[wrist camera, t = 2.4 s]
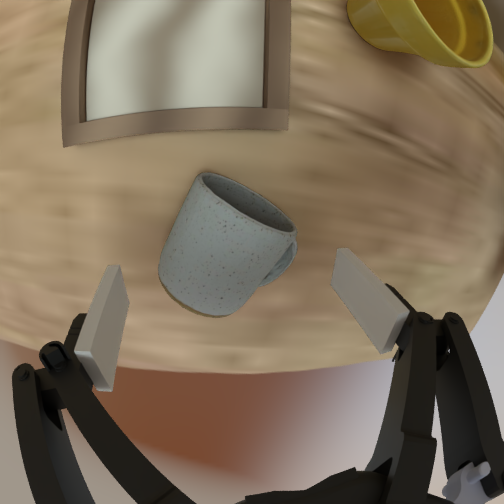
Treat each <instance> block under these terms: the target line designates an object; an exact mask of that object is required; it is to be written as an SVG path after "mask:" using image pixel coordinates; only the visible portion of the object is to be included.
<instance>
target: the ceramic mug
mask: <svg viewBox="0 0 504 504" xmlns="http://www.w3.org/2000/svg"><path fill="white" fill-rule="evenodd" d="M296 236H297V228H296V226H295V224H294V223H293V222H292V221H291V220H290V219H289V218H288V217H287V216H286V215H285V214H284V213H283V212H282V211H281V210H280V209H278V208H277V207H276V206H275V205H273V204H272V203H271V202H269V201H268V200H266V199H265V198H264V197H262V196H261V195H259V194H257V193H255V192H254V191H252V190H250V189H249V188H247V187H245V186H244V185H242V184H239V183H237V182H235V181H234V180H231V179H229V178H227V177H223V176H221V175H218V174H214V173H210V172H208V173H201V174H199V175H198V176H197V177H196V179H195V181H194V183H193V185H192V187H191V189H190V191H189V193H188V195H187V197H186V199H185V201H184V203H183V205H182V207H181V210H180V212H179V214H178V216H177V218H176V221H175V223H174V225H173V228H172V230H171V232H170V234H169V236H168V239H167V241H166V243H165V245H164V247H163V250H162V252H161V257H160V261H159V266H158V275H159V279H160V282H161V284H162V286H163V288H164V289H165V291H166V292H167V294H168V295H169V296H170V297H171V298H172V299H173V300H174V301H176V302H177V303H178V304H179V305H180V306H182V307H183V308H185V309H187V310H189V311H191V312H193V313H195V314H198V315H202V316H206V317H212V318H220V317H225V316H228V315H230V314H232V313H234V312H235V311H237V310H238V309H239V308H240V307H241V306H243V305H244V304H245V303H246V301H247V300H248V299H249V298H250V297H251V295H252V294H253V293H254V292H255V290H256V289H257V287H260V286H264V285H266V284H268V283H270V282H272V281H273V280H275V279H276V278H278V277H279V276H280V275H281V274H282V273H283V272H284V271H285V270H286V269H287V268H288V267H289V265H290V264H291V263H292V261H293V259H294V257H295V255H296V253H297V242H296Z"/></svg>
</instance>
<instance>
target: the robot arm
mask: <svg viewBox="0 0 504 504" xmlns="http://www.w3.org/2000/svg"><path fill="white" fill-rule="evenodd" d="M330 285H331V286H332V287H333V289H334V290H335V291H336V293H337V294H338V295H339V297H340V298H341V300H342V301H343V302H344V304H345V305H346V306H347V308H348V309H349V311H350V312H351V313H352V315H353V316H354V317H355V319H356V320H357V322H358V323H359V324H360V326H361V327H362V329H363V330H364V331H365V333H366V334H367V336H368V337H369V338H370V340H371V341H372V343H373V344H374V346H375V347H376V349H377V350H378V351H379V353H380V354H383V353H386V352H389V351H392V349H393V347H394V345H395V343H396V344H397V345H398V346H399V348H398V350H397V352H396V354H395V355H394V357H393V359H392V362H394V360H395V366H394V372H393V377H392V383H391V388H390V393H389V398H388V402H387V406H386V411H385V415H384V419H383V423H382V426H381V430H380V434H379V437H378V441H377V444H376V448H375V451H374V454H373V456H372V459H371V460H370V462H369V463H368V465H367V467H366V469H365V471H356V468H355V467H354V468H351V469H348V470H346V471H343V472H340V473H337V474H334V475H331V476H329V477H328V478H326V479H324V480H323V481H321V482H320V483H317V484H316V485H314V486H312V487H310V488H309V489H307V490H300V491H272V492H267V493H261V494H255V495H249V496H245V500H243V501H240V502H238V503H236V504H485V503H486V502H488V501H490V500H492V499H494V498H495V497H497V496H499V495H501V494H503V493H504V441H503V439H502V437H501V432H500V427H499V423H498V419H497V415H496V411H495V407H494V403H493V400H492V396H491V393H490V389H489V386H488V383H487V380H486V377H485V374H484V371H483V368H482V366H481V363H480V360H479V358H478V355H477V352H476V350H475V347H474V345H473V342H472V340H471V338H470V335H469V333H468V331H467V328H466V326H465V324H464V322H463V320H462V318H461V317H460V316H459V315H458V314H456V313H453V312H447V313H445V315H444V317H443V319H442V320H434V319H433V317H432V316H430V315H429V314H427V313H425V312H417V311H416V310H415V309H414V308H413V307H412V306H411V305H410V304H409V303H408V302H407V301H406V300H405V299H403V297H402V296H401V295H400V294H399V292H398V291H397V290H396V289H395V288H393V287H392V286H390V285H388V284H387V283H386V284H384V283H383V282H382V281H381V280H380V279H379V278H378V277H377V276H376V275H375V274H374V273H373V272H372V271H371V270H370V269H369V268H368V267H367V266H366V265H365V264H364V263H363V262H362V261H361V260H360V259H359V258H358V257H357V256H356V255H355V254H354V253H353V252H352V251H351V250H350V249H349V248H337V254H336V259H335V264H334V270H333V275H332V280H331V284H330ZM128 308H129V299H128V295H127V292H126V288H125V284H124V280H123V276H122V272H121V268H120V265H108V266H107V268H106V271H105V273H104V275H103V277H102V279H101V282H100V284H99V286H98V289H97V291H96V293H95V296H94V298H93V301H92V303H91V305H90V308H89V310H88V313H81V314H78V316H77V317H76V318H75V319H74V320H73V322H72V324H71V327H70V329H69V332H68V335H67V337H66V340H65V342H64V345H63V344H62V343H61V342H59V341H52V342H49V343H47V344H46V345H44V346H43V347H42V349H41V350H40V353H39V358H40V360H41V362H42V363H43V365H44V367H45V368H42V369H38V370H34V368H33V367H32V366H31V365H30V364H27V363H24V364H21V365H19V366H18V367H17V368H16V369H15V370H14V372H13V375H12V386H13V401H14V410H15V419H16V427H17V433H18V439H19V444H20V449H21V454H22V459H23V463H24V467H25V471H26V474H27V478H28V481H29V485H30V488H31V491H32V494H33V497H34V500H35V503H36V504H95V502H94V500H93V498H92V496H91V494H90V491H89V490H88V487H87V485H86V482H85V480H84V478H83V475H82V473H81V470H80V468H79V465H78V463H77V460H76V457H75V454H74V452H73V449H72V446H71V443H70V440H69V436H68V434H67V430H66V426H65V423H64V420H63V416H62V412H61V409H65V408H67V410H68V411H69V413H70V415H71V416H72V418H73V420H74V422H75V423H76V425H77V426H78V428H79V430H80V431H81V433H82V434H83V436H84V437H85V439H86V440H87V442H88V443H89V445H90V446H91V448H92V449H93V450H94V452H95V453H96V455H97V456H98V457H99V459H100V460H101V461H102V463H103V464H104V465H105V467H106V468H107V469H108V470H109V472H110V473H111V474H112V475H113V476H114V478H115V479H116V480H117V481H118V483H119V484H120V485H121V486H122V487H123V488H124V489H125V491H126V492H127V493H128V494H129V495H130V496H131V497H132V498H133V499H134V500H135V501H136V502H137V504H196V503H195V502H194V501H192V500H191V499H190V498H189V497H187V496H186V495H185V494H184V493H183V492H181V491H180V490H179V489H178V488H177V487H176V486H174V485H173V484H172V483H171V482H170V481H169V480H168V479H167V478H166V477H165V476H164V475H163V474H161V473H160V471H158V470H157V469H156V468H155V467H154V466H153V465H152V464H151V463H150V462H149V461H148V459H147V458H145V456H144V455H143V454H142V453H141V452H140V451H139V450H138V449H137V448H136V447H135V445H134V444H133V443H132V442H131V441H130V440H129V439H128V437H127V436H126V435H125V434H124V433H123V432H122V430H121V429H120V428H119V427H118V425H117V424H116V423H115V422H114V420H113V419H112V418H111V417H110V415H109V414H108V413H107V411H106V410H105V409H104V407H103V406H102V405H101V403H100V402H99V400H98V399H97V398H96V396H95V395H94V393H93V392H92V387H93V384H94V386H95V387H96V389H97V390H98V391H112V390H113V383H114V377H115V371H116V365H117V359H118V354H119V349H120V344H121V339H122V334H123V329H124V325H125V320H126V316H127V312H128ZM449 349H450V353H449V352H448V350H449ZM435 394H436V399H437V405H438V411H439V418H440V425H441V433H442V442H443V453H444V464H445V470H446V475H447V479H448V482H447V485H446V486H445V487H444V488H443V490H442V494H443V496H445V497H446V499H443V498H440V497H437V496H434V495H432V494H428V493H427V492H428V488H429V484H430V480H431V475H432V470H433V465H434V460H435V454H436V447H437V440H436V438H433V437H432V436H431V432H432V425H433V415H434V406H435Z"/></svg>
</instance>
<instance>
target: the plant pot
mask: <svg viewBox="0 0 504 504" xmlns="http://www.w3.org/2000/svg"><path fill="white" fill-rule="evenodd" d="M347 13H348V17H349V19H350V22H351V24H352V26H353V27H354V29H355V30H356V32H357V33H358V34H359V35H360V36H361V37H362V38H363V39H364V40H365V41H366V42H368V43H369V44H371V45H372V46H374V47H376V48H379V49H381V50H386V51H396V52H403V53H409V54H415V55H420V56H421V57H422V58H424V59H426V60H427V61H430V62H432V63H434V64H437V65H440V66H448V67H460V68H479V67H482V66H484V65H485V64H486V63H487V62H488V61H489V59H490V57H491V55H492V50H493V33H492V27H491V23H490V19H489V16H488V13H487V11H486V8H485V6H484V4H483V2H482V0H348V2H347Z"/></svg>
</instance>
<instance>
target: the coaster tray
mask: <svg viewBox="0 0 504 504" xmlns="http://www.w3.org/2000/svg"><path fill="white" fill-rule="evenodd" d="M290 50H291V0H72V1H71V6H70V11H69V16H68V22H67V29H66V36H65V43H64V53H63V65H62V83H61V120H62V139H63V148H64V147H69V146H73V145H78V144H83V143H88V142H94V141H99V140H105V139H112V138H118V137H125V136H133V135H141V134H150V133H160V132H172V131H186V130H207V129H269V130H288V116H289V89H290Z"/></svg>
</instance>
